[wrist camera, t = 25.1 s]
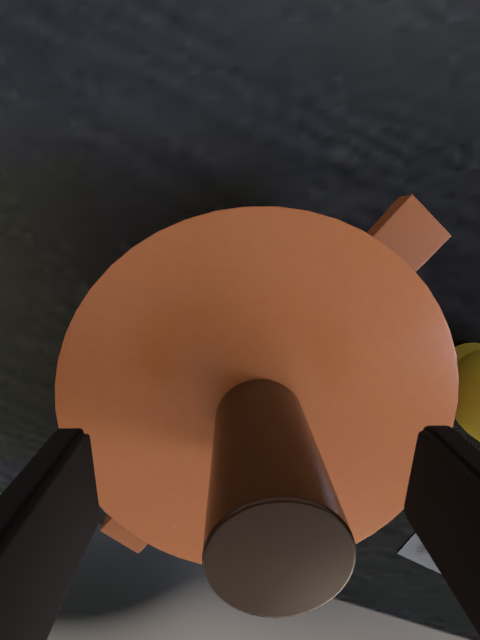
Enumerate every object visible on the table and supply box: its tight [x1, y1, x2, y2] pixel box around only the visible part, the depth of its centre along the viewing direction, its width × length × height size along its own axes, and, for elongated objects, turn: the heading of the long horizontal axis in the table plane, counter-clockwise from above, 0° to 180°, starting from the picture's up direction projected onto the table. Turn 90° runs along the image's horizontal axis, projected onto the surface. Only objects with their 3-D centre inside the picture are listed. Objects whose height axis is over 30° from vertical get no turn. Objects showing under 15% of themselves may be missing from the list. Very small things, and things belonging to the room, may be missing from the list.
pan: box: [100, 194, 451, 553], centre depth 16 cm, size 16×21×6 cm
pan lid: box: [55, 206, 459, 618], centre depth 11 cm, size 17×17×7 cm
